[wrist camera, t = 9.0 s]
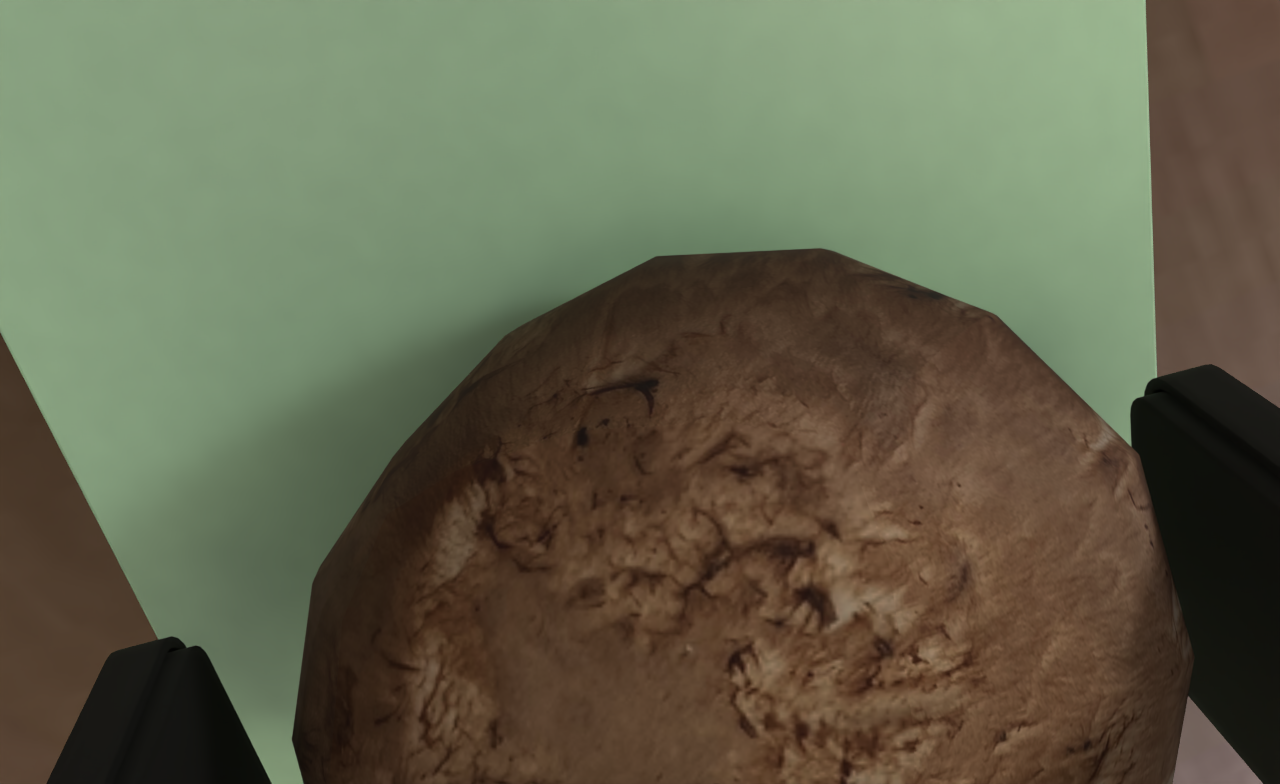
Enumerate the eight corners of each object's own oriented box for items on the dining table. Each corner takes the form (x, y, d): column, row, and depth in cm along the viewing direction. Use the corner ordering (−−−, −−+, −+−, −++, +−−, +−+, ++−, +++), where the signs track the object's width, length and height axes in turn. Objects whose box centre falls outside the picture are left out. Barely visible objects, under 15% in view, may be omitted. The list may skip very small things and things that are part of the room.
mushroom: (1210, 983, 12) (1348, 1516, 6) (535, 943, 15) (189, 1286, 9) (1115, 242, 13) (1156, 86, 7) (480, 338, 15) (116, 287, 9)
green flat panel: (-164, -58, 10) (-202, -53, 9) (1101, -376, 10) (1136, -390, 10) (379, 1028, 16) (376, 1067, 16) (1150, 820, 17) (1173, 853, 16)
